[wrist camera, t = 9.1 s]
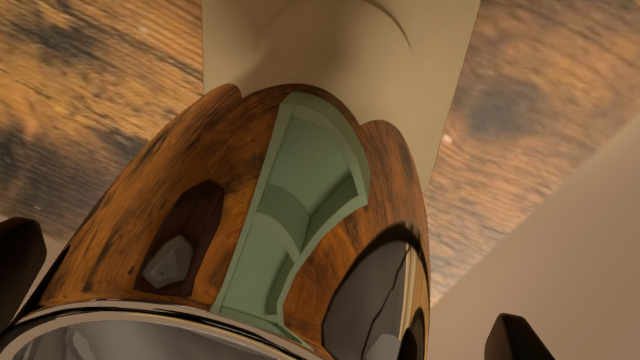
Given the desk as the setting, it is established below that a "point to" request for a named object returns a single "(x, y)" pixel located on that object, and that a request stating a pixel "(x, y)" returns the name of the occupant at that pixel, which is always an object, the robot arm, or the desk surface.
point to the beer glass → (258, 217)
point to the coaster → (414, 21)
